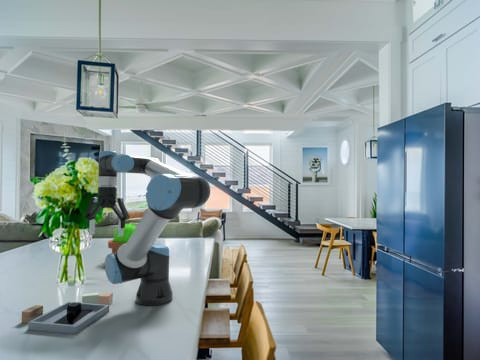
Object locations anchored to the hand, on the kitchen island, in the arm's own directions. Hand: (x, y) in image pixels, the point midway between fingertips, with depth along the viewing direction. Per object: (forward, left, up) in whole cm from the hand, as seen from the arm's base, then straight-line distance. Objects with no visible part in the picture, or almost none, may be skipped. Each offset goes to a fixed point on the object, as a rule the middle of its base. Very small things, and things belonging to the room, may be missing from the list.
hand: (106, 235), depth 133 cm
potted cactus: (+24, -61, -27) cm, 71 cm away
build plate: (-2, +22, -26) cm, 34 cm away
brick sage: (+1, +8, -27) cm, 28 cm away
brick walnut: (+12, +25, -27) cm, 39 cm away
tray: (-2, +23, -27) cm, 35 cm away
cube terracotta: (-5, +7, -27) cm, 28 cm away
